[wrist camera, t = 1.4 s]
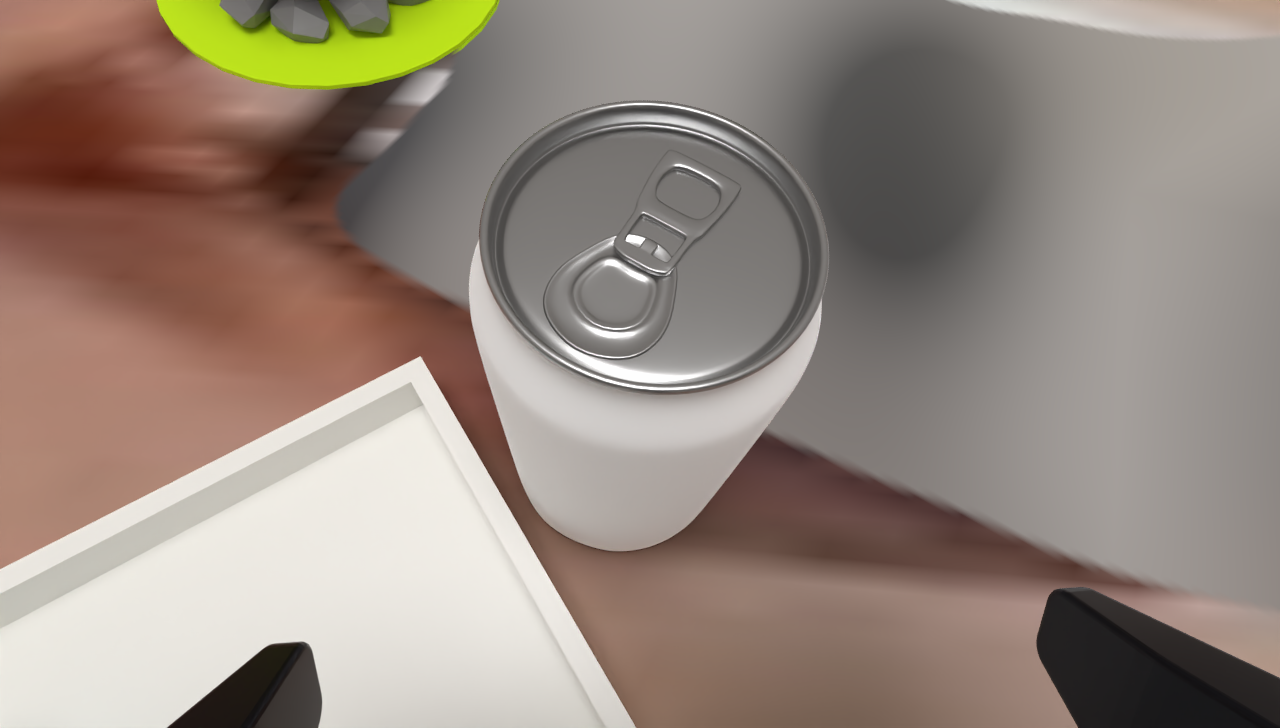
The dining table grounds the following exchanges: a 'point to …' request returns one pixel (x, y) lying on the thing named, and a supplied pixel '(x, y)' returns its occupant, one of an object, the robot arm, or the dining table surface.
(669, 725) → the dining table surface
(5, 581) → the long tray
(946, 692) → the dining table surface
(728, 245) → the can
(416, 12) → the toy cauldron
